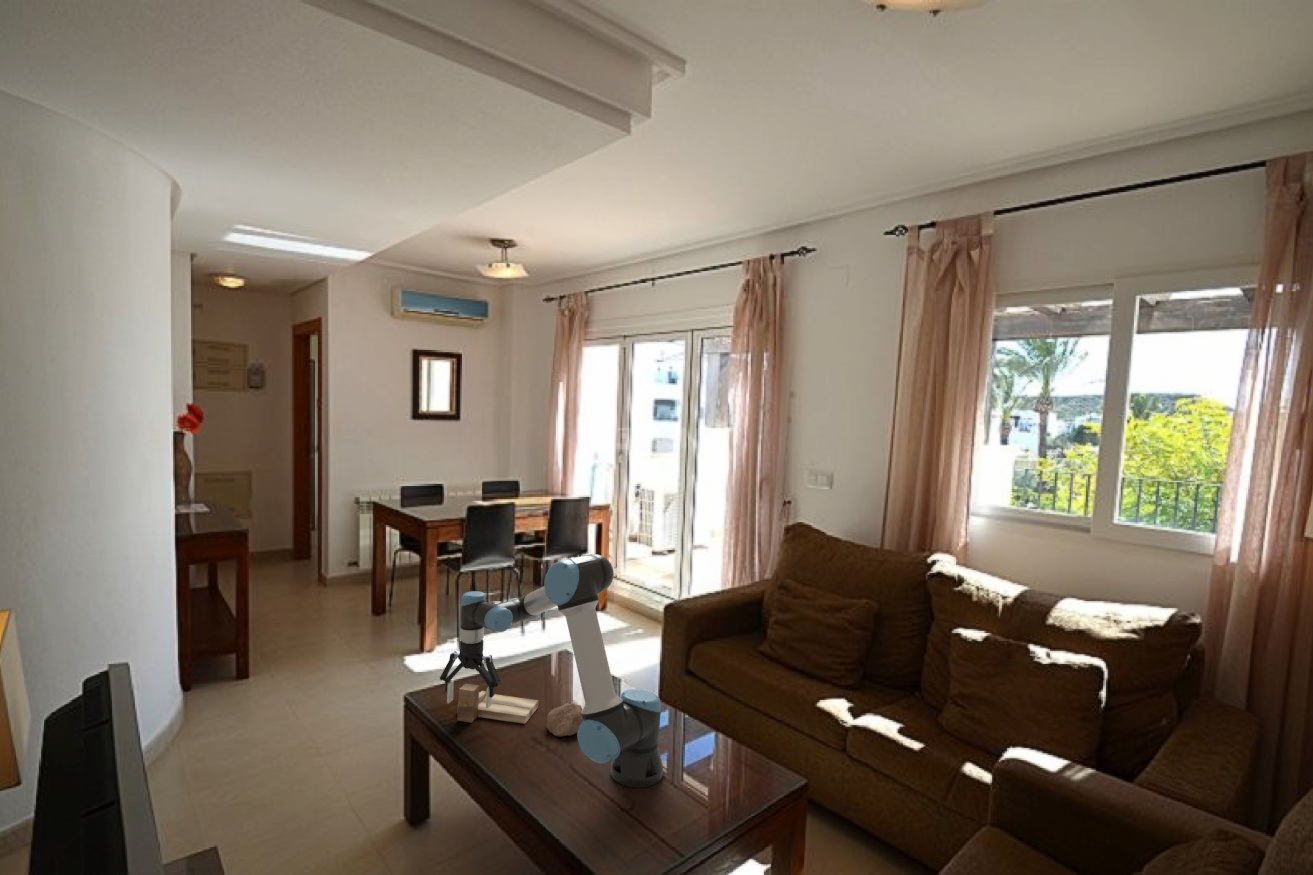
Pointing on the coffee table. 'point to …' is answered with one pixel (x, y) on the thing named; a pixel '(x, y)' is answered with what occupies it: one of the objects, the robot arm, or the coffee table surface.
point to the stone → (565, 720)
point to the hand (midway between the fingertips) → (469, 703)
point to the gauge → (469, 702)
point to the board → (508, 708)
